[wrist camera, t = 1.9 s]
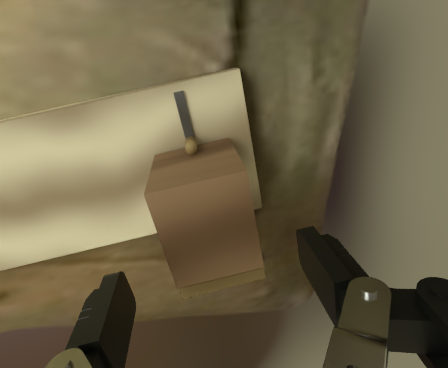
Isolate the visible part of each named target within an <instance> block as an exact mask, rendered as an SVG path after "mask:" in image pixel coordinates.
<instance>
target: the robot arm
mask: <svg viewBox="0 0 448 368" xmlns="http://www.w3.org/2000/svg"><path fill="white" fill-rule="evenodd" d="M296 235H297V243H298V252H299V259H300V263H301V266H302V268H303V271H304V272H305V274H306V276H307V278H308V279H309V281H310V283H311V285H312V287H313V288H314V290H315V292H316V294H317V296H318V297H319V299H320V301H321V303H322V304H323V306H324V308H325V310H326V312H327V313H328V315H329V317H330V319H331V320H332V322H333V324H334V326H335V327H334V328H333V331H332V335H331V338H330V342H329V345H328V349H327V353H326V357H325V360H324V364H323V368H387V366H388V354H389V351H391V352H405V353H417V355H418V356H419V358H420V359H421V360H422V362H423V363H424V365H425V366H426V367H427V368H448V280H447V279H443V278H437V277H428V278H424V279H422V280H420V281H419V282H418V283H417V288H416V289H394V288H389V287H388V286H387V285H386V284H385V283H384V282H382V281H380V280H378V279H376V278H372V277H369V276H368V275H367V274H366V272H364V270H363V269H362V268H361V267H360V265H359V264H358V263H357V262H356V261H355V260H354V258H353V257H352V256H351V255H349V253H348V251H347V250H346V249H345V248H344V247H343V245H342V244H341V243H340V242H339V241H338V239H335V238H334V237H332V236H330V235H328V234H325V235H320V234H319V233H318V231H317V230H316V229H315V227H314V226H310V227H306V228H302V229H298V230H297V231H296ZM135 312H136V302H135V297H134V295H133V292H132V290H131V288H130V285H129V283H128V281H127V279H126V276H125V274H124V273H123V272H122V271H121V272H117V273H113V274H108V275H105V276H104V277H103V280H102V282H101V285H100V288H99V289H95V290H94V291H93V292H92V293H91V294H90V295H89V297H88V298H87V299H86V301H85V303H84V305H83V308H82V312H81V313H80V315H79V317H78V320H77V322H76V325H75V327H74V330H73V332H72V334H71V337H70V339H69V342H68V344H67V347H66V349H65V351H63V352H61V353H60V354H58V355H57V356H56V357H54V358H53V359H52V360H51V361H50V362H49V363H48V365H47V366H46V367H45V368H125V363H126V358H127V353H128V347H129V342H130V337H131V332H132V327H133V322H134V317H135Z"/></svg>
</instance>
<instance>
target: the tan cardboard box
mask: <svg viewBox="0 0 448 368" xmlns="http://www.w3.org/2000/svg"><path fill="white" fill-rule="evenodd" d="M144 197H145V200H146V203H147V206H148V208H149V211H150V214H151V217H152V220H153V222H154V225H155V228H156V231H157V234H158V236H159V239H160V242H161V245H162V248H163V250H164V253H165V256H166V259H167V262H168V264H169V267H170V270H171V273H172V276H173V278H174V281H175V284H176V287H177V289H178V288H179V291H180V294H181V297H182V299H184V298H188V297H192V296H196V295H200V294H204V293H208V292H212V291H216V290H220V289H224V288H228V287H232V286H236V285H240V284H244V283H248V282H252V281H256V280H260V279H264V278H265V272H264V263H263V257H262V252H261V246H260V241H259V235H258V229H257V224H256V218H255V213H254V207H253V202H252V196H251V191H250V185H249V179H248V174H247V170H246V168H245V166H244V164H243V162H242V161H241V159H240V157H239V155H238V153H237V151H236V150H235V148H234V146H233V144H232V142H231V140H230V139H229V138H225V139H221V140H217V141H212V142H208V143H204V144H199V145H197V144H196V139H195V138H194V137H192V136H189V137H187V138H186V140H185V148H182V149H178V150H174V151H169V152H165V153H161V154H156V155H155V156H154V159H153V163H152V167H151V170H150V174H149V177H148V181H147V184H146V188H145V192H144Z"/></svg>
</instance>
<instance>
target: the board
mask: <svg viewBox="0 0 448 368" xmlns="http://www.w3.org/2000/svg"><path fill="white" fill-rule="evenodd" d="M189 136H192V137H194V138H195V139H196V144H197V145H199V144H204V143H208V142H212V141H217V140H221V139H225V138H229V139H230V140H231V142H232V144H233V146H234V148H235V150H236V151H237V153H238V155H239V157H240V159H241V161H242V162H243V164H244V166H245V168H246V170H247V174H248V179H249V185H250V191H251V196H252V202H253V207H254V210H255V209H259V208H263V207H262V201H261V195H260V189H259V183H258V177H257V171H256V164H255V158H254V152H253V146H252V140H251V134H250V128H249V122H248V116H247V110H246V104H245V98H244V92H243V86H242V80H241V74H240V69H238V68H230V69H226V70H221V71H217V72H212V73H208V74H203V75H199V76H194V77H190V78H185V79H181V80H176V81H172V82H168V83H163V84H159V85H154V86H150V87H145V88H141V89H136V90H132V91H127V92H123V93H118V94H114V95H109V96H105V97H100V98H96V99H92V100H87V101H83V102H78V103H74V104H69V105H65V106H60V107H56V108H51V109H47V110H42V111H38V112H33V113H29V114H25V115H20V116H16V117H11V118H7V119H2V120H0V271H2V270H6V269H10V268H14V267H18V266H22V265H27V264H31V263H35V262H39V261H43V260H47V259H51V258H56V257H60V256H64V255H68V254H72V253H76V252H81V251H85V250H89V249H93V248H97V247H101V246H105V245H110V244H114V243H118V242H122V241H126V240H130V239H135V238H139V237H143V236H147V235H151V234H155V233H157V231H156V228H155V225H154V222H153V220H152V217H151V214H150V211H149V208H148V206H147V203H146V200H145V197H144V192H145V188H146V184H147V181H148V177H149V174H150V170H151V167H152V163H153V159H154V156H155V155H156V154H161V153H165V152H169V151H174V150H178V149H182V148H185V140H186V138H187V137H189Z"/></svg>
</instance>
